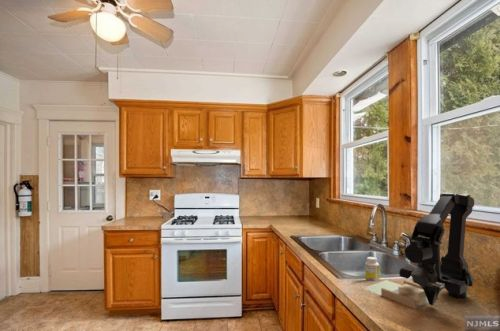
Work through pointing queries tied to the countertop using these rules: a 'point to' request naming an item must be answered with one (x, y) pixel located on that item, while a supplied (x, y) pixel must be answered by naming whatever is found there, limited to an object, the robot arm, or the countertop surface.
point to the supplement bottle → (372, 269)
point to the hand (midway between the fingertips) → (431, 304)
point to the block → (413, 293)
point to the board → (394, 292)
